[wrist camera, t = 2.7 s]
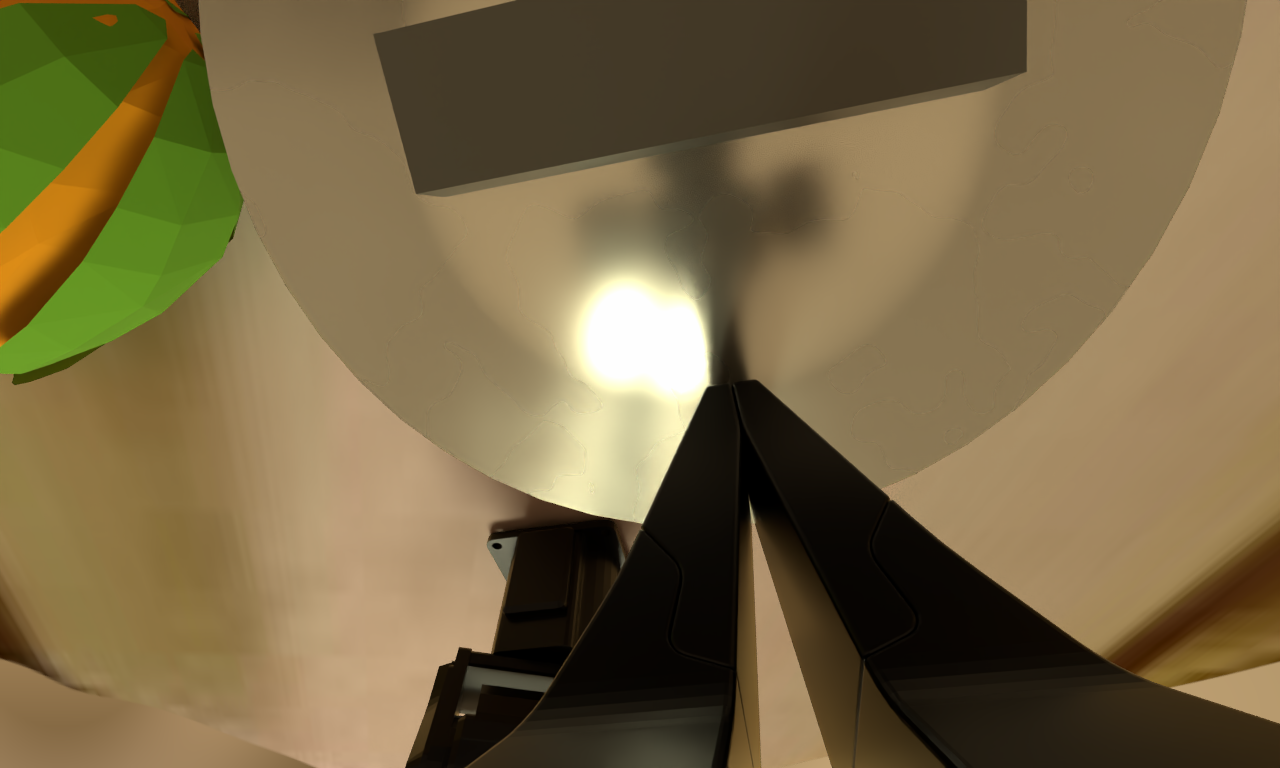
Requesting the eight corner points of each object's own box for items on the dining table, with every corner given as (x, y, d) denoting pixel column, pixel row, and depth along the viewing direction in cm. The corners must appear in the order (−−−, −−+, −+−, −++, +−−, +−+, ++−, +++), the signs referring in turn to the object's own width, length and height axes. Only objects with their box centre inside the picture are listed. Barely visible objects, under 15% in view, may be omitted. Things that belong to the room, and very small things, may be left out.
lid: (1155, 445, 10) (1310, 519, 8) (395, 540, 12) (318, 626, 9) (1244, -830, 6) (1630, -1549, 4) (83, -411, 8) (-197, -707, 5)
